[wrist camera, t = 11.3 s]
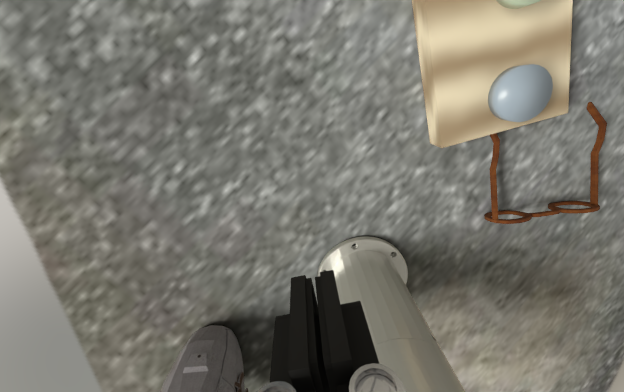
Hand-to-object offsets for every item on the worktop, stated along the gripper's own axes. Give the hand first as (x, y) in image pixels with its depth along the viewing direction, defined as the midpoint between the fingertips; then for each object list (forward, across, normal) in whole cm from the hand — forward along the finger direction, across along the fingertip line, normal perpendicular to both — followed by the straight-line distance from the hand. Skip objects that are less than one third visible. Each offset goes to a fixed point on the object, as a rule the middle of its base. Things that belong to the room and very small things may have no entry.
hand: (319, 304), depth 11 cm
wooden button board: (+25, -21, -13) cm, 36 cm away
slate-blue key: (+21, -22, -3) cm, 30 cm away
